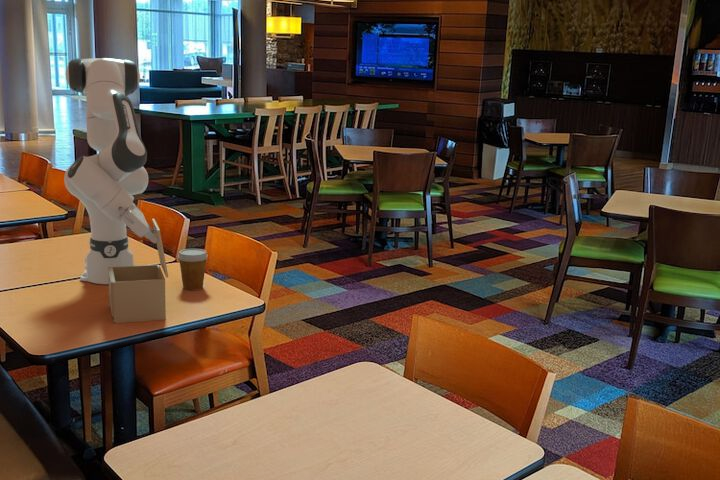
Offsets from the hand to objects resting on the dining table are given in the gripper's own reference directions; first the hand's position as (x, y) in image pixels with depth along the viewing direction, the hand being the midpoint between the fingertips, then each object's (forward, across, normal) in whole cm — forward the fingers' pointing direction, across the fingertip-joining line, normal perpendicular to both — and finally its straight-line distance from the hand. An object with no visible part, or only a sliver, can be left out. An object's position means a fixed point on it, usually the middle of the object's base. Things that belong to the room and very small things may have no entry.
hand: (154, 237), depth 217 cm
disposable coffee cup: (+26, +21, +6) cm, 34 cm away
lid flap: (+3, 0, +1) cm, 3 cm away
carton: (+12, 0, +20) cm, 23 cm away
